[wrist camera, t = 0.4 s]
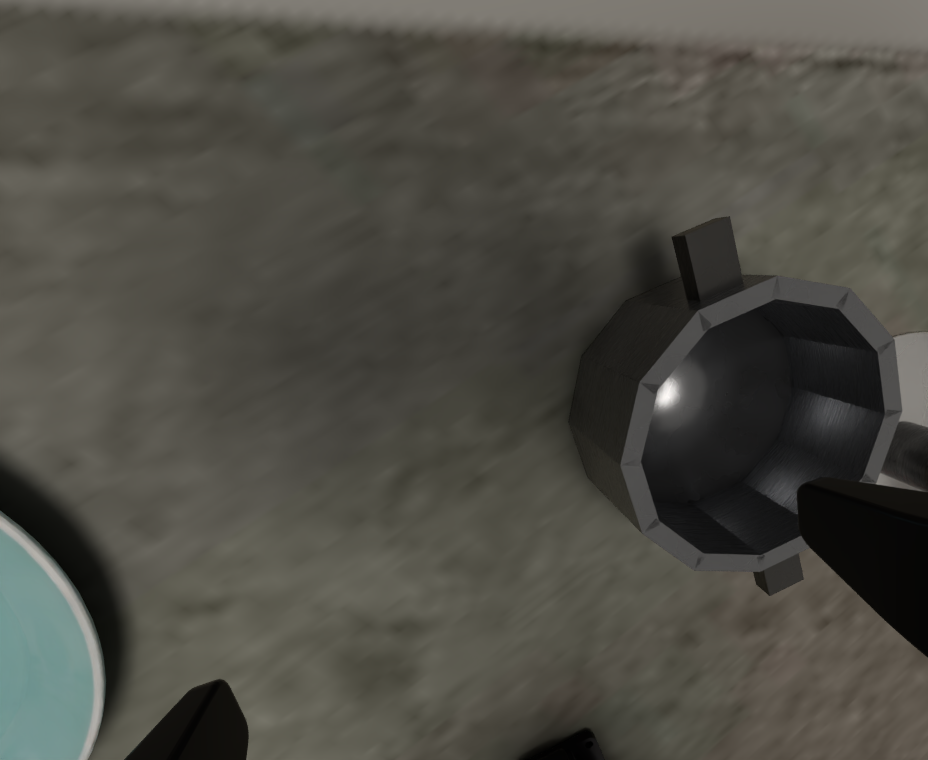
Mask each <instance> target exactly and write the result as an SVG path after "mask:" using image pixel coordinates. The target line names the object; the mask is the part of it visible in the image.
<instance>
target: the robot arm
mask: <svg viewBox="0 0 928 760" xmlns="http://www.w3.org/2000/svg"><path fill="white" fill-rule="evenodd" d="M797 512H798V528H799V532H800V535H801V536H802V538H803V540H804V541H805V543H806V544H807V545H808V546H809V547H810V548H811V549H812V550H813V551H814V552H815V553H816V554H817V555H818V556H819V557H820V558H821V559H822V560H823V561H824V562H825V563H826V564H827V565H828V566H829V567H830V568H831V569H833V570H834V571H835V572H836V573H837V574H838V575H839V576H840V577H841V578H842V579H843V580H844V581H845V582H846V583H847V584H848V585H849V586H850V587H851V588H852V589H853V590H854V591H855V592H856V593H857V594H858V595H859V596H860V597H861V598H862V599H863V600H864V601H865V602H866V603H867V604H869V605H870V606H871V607H872V608H873V609H874V610H875V611H876V612H877V613H878V614H879V615H880V616H881V617H882V618H883V619H884V620H885V621H886V622H887V623H888V624H889V625H891V626H892V627H893V628H894V629H895V630H896V631H897V632H898V633H899V634H901V635H902V636H903V637H904V638H905V639H906V640H907V641H909V642H910V643H911V644H912V645H913V646H914V647H916V648H917V649H918V650H919V651H920V652H922V653H923V654H924V655H925V656H926V657H928V492H924V491H917V490H911V489H904V488H897V487H891V486H884V485H878V484H871V483H864V482H858V481H851V480H844V479H838V478H831V477H821V478H817V479H814V480H812V481H809V482H806V483H803V484H801V485H800V486H799V487H798V489H797ZM248 739H249V734H248V726H247V722H246V719H245V717H244V715H243V713H242V711H241V709H240V707H239V704H238V702H237V700H236V698H235V696H234V694H233V692H232V690H231V688H230V686H229V685H228V683H227V682H226V681H225V680H222V679H218V680H214V681H211V682H208V683H205V684H202V685H199V686H196V687H194V688H192V689H191V690H189V691H188V692H187V693H186V694H185V695H184V696H183V697H182V699H181V700H180V701H179V702H178V703H177V704H176V705H175V706H174V707H173V708H172V709H171V710H170V711H169V712H168V713H167V715H166V716H165V717H164V718H163V719H162V720H161V721H160V722H159V723H158V724H157V725H156V726H155V727H154V728H153V730H152V731H151V732H150V733H149V734H148V735H147V736H146V737H145V738H144V739H143V740H142V741H141V742H140V743H139V744H138V746H137V747H136V748H135V749H134V750H133V751H132V752H131V753H130V754H129V755H128V756H127V757H126V758H125V759H124V760H246V757H247V749H248ZM529 760H605V759H604V756H603V754H602V752H601V749H600V747H599V745H598V742H597V740H596V738H595V736H594V734H593V732H591V731H586V732H583V733H581V734H579V735H577V736H575V737H573V738H571V739H569V740H567V741H565V742H563V743H561V744H559V745H557V746H555V747H553V748H551V749H549V750H547V751H545V752H543V753H541V754H539V755H537V756H535V757H533V758H531V759H529Z"/></svg>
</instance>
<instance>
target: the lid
mask: <svg viewBox="0 0 928 760" xmlns="http://www.w3.org/2000/svg"><path fill="white" fill-rule="evenodd" d="M892 337H893V338H894V339H895V347H896V356H897V365H898V374H899V383H900V393H901V402H902V414H901V416H900V419H899V422H898V425H897V428H896V430H895V433H894V436H893V439H892V441H891V444H890V447H889V450H888V452H887V455H886V458H885V461H884V463H883V466H882V469H881V472H880V474H879V477H878V480H877V483H876V484H878V485H884V486H891V487H897V488H904V489H911V490H917V491H924V492H928V332H911V333H904V334H900V335H896V336H892Z"/></svg>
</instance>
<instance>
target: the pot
mask: <svg viewBox="0 0 928 760" xmlns="http://www.w3.org/2000/svg"><path fill="white" fill-rule="evenodd" d="M672 240H673V245H674V249H675V253H676V257H677V261H678V265H679V269H680V273H681V277H679V278H677V279H675V280H673V281H670V282H668V283H666V284H663V285H661V286H659V287H656V288H654V289H652V290H649V291H647V292H645V293H643V294H640V295H638V296H636V297H633V298H631V299H629V300H626V301H625V303H624V304H623V305H622V306H621V308H620V309H619V310H618V311H617V313H616V314H615V315H614V316H613V318H612V319H611V320H610V321H609V323H608V324H607V325H606V326H605V328H604V329H603V330H602V331H601V333H600V334H599V335H598V336H597V338H596V339H595V340H594V341H593V343H592V344H591V345H590V347H589V348H588V349H587V350H586V352H585V353H584V354H583V355H582V357H581V362H580V367H579V372H578V377H577V382H576V387H575V392H574V397H573V402H572V407H571V412H570V417H569V425H570V428H571V431H572V434H573V436H574V439H575V442H576V445H577V448H578V451H579V454H580V456H581V459H582V462H583V465H584V468H585V471H586V474H587V476H588V478H589V479H590V480H591V481H592V482H593V483H594V484H595V485H596V486H597V488H598V489H599V490H600V491H601V492H602V493H603V494H604V495H605V496H606V497H607V498H608V499H609V500H610V501H611V502H612V503H613V504H614V505H615V506H616V507H617V508H618V509H619V510H620V511H621V512H622V513H623V514H624V515H625V516H626V517H627V518H628V519H629V520H630V521H631V522H632V523H633V524H634V525H635V527H636V528H637V529H638V530H639V531H640V532H641V533H642V534H644V535H645V536H646V537H648V538H649V539H651V540H652V541H653V542H655V543H656V544H658V545H659V546H660V547H662V548H663V549H665V550H666V551H667V552H669V553H670V554H672V555H673V556H674V557H676V558H677V559H679V560H680V561H681V562H683V563H684V564H686V565H687V566H688V567H690V568H691V569H693V570H694V571H743V572H753V573H754V577H755V581H756V585H758V586H759V587H760V588H761V589H762V590H763V591H765V592H766V593H767V594H768V595H769V596H771V595H773V594H775V593H777V592H779V591H781V590H783V589H785V588H787V587H789V586H791V585H793V584H795V583H797V582H799V581H801V580H803V579H804V578H803V573H802V568H801V563H800V558H799V553H800V552H802V551H804V550H806V549H808V548H810V547H809V546H808V545H807V544H806V543H805V541H804V540H803V538H802V536H801V535H800V532H799V528H798V512H797V489H798V487H799V486H800V485H801V484H803V483H806V482H809V481H812V480H814V479H817V478H821V477H831V478H838V479H844V480H851V481H858V482H864V483H871V484H876V483H877V480H878V477H879V474H880V472H881V469H882V466H883V463H884V461H885V458H886V455H887V452H888V450H889V447H890V444H891V441H892V439H893V436H894V433H895V430H896V428H897V425H898V422H899V419H900V416H901V414H902V402H901V393H900V383H899V374H898V365H897V356H896V347H895V339H894V338H893V337H892V336H891V335H890V334H889V332H888V331H887V330H886V329H885V328H884V327H883V325H882V324H881V323H880V322H879V321H878V320H877V318H876V317H875V316H874V315H873V314H872V313H871V312H870V310H869V309H868V308H867V307H866V306H865V305H864V303H863V302H862V301H861V300H860V299H859V298H858V297H857V295H856V294H855V293H854V292H853V291H852V290H851V288H847V287H841V286H835V285H829V284H823V283H817V282H811V281H806V280H800V279H794V278H788V277H782V276H767V275H742V274H741V269H740V264H739V260H738V255H737V250H736V245H735V240H734V235H733V230H732V225H731V220H730V216H729V217H722V218H715V219H712V220H710V221H708V222H705V223H703V224H701V225H698V226H696V227H693V228H691V229H689V230H686V231H684V232H682V233H679V234H677V235H675V236H672Z"/></svg>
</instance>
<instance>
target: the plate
mask: <svg viewBox="0 0 928 760" xmlns="http://www.w3.org/2000/svg"><path fill="white" fill-rule="evenodd" d="M105 691H106V676H105V665H104V657H103V652H102V648H101V643H100V639H99V636H98V633H97V631H96V628H95V625H94V622H93V619H92V617H91V615H90V613H89V611H88V609H87V607H86V605H85V603H84V601H83V599H82V597H81V595H80V593H79V592H78V590H77V589H76V587H75V586H74V585H73V583H72V582H71V580H70V579H69V577H68V576H67V574H66V573H65V572H64V571H63V569H62V568H61V567H60V566H59V564H58V563H57V562H56V561H55V559H54V558H53V557H52V556H51V555H50V554H49V553H48V552H47V551H46V550H45V549H44V548H43V547H42V546H41V545H40V543H39V542H38V541H36V540H35V539H34V538H33V537H32V536H31V535H30V534H29V533H27V532H26V531H25V530H24V529H23V528H22V527H21V526H20V525H18V524H17V523H16V522H14V521H13V520H12V519H10V518H9V517H8V516H7V515H5V514H4V513H3V512H1V511H0V760H88V758H89V756H90V754H91V752H92V750H93V747H94V745H95V742H96V739H97V736H98V733H99V729H100V726H101V722H102V717H103V712H104V703H105Z"/></svg>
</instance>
